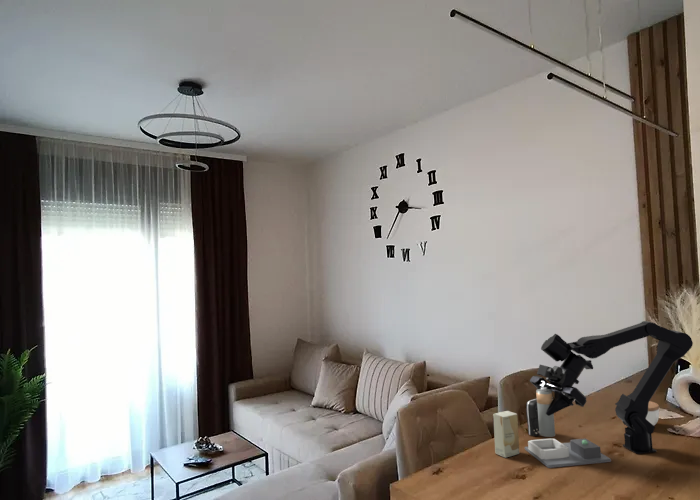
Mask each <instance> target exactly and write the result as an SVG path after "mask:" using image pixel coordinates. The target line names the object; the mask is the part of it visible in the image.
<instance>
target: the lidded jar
mask: <svg viewBox="0 0 700 500" xmlns="http://www.w3.org/2000/svg"><path fill="white" fill-rule="evenodd" d="M659 409H660V405H659V404H658V403H657V402H654V401H651V400H650V401H649V405H648V414H647V416H646V420H647V421H649V422H650V423H651V424H652V425H653V426H654V427H655V425H656V424H657V423H658V421H659V419H660V418H659V417H660V410H659Z"/></svg>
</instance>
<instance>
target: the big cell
mask: <svg viewBox="0 0 700 500" xmlns="http://www.w3.org/2000/svg"><path fill="white" fill-rule="evenodd" d="M535 393H536V399H537V407H538V421H539V434H540V436H542V437H545V438H546V437H547V438H548V437H549V438H552V437H555V436H556V428H555V413H554V414H552V415H550V416H548V415H547V414H546V412H547V410H548V408H549V406H550V404H551V403H552V401H553V399H554V398H553V397H554V396H553V391H552V390H549V389H547V388H546V387H541V389H537V388H536V390H535Z"/></svg>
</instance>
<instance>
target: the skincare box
mask: <svg viewBox="0 0 700 500" xmlns="http://www.w3.org/2000/svg"><path fill="white" fill-rule="evenodd" d="M492 415H493V416H492V417H493V433H494V436H493V437H494V452H495V453H494V454H496V455H498V456H500V457H502V458H504V459H505V458H508V457H510V458H511V457H512V456H513V457H514V456H516V455H519V454H520V441H519V440H520V438H519V437H520V436H519V423H518V421H519V419H518V418H519V417H518V413H516V412H512V411H510V410H505V411H499V412H496V413H493V414H492Z"/></svg>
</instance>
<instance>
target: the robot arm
mask: <svg viewBox="0 0 700 500" xmlns="http://www.w3.org/2000/svg"><path fill="white" fill-rule="evenodd" d="M648 337H652V338H654V339H655V340H657V341H658V342H657V348H656V354H655V356H654V358H653V359H652V361H651V362H650V364H649V365H648V367H647V368H646V370H645V372H644V373H643V375H642V377H641V378H640V380H639V382H638V383H637V385H636V386H635V388H634V389H633V391H632V392H631V393H629V394H628V395H626V394H624V393H622V394H621V395H620V397H619V400H617V402H615V403H614V404H615V409H614V411H615V414H616V416H617V418H619V419H620V420H621V421H622V423H623V425H624V426H626V427H624V434H623V436H624V437H623V438H624V444H622V447H623V448H624V449H626V450H629V451H630V452H633V453H635V455H636V454H637V455H640V454H650V453H651V454H652V453H657V451H658V450H657V449H656V448H653V437H652V434H653V433H654V432H655V428H656V427H655V425H654V426H653V425H652V424H651V423H650V422H649V421H647V420H646V416H647V414H648V405H649V401H651V399H652V398H653V396H654V395H655V393H656V391H657V390H658V388H659V386H660V385H661V383H662V382H663V380H664V379H665V377H666V375H667V374H668V372H669V371H670V370H671V368H672V366H673V364H674V363H675V362H676V361H678V360H680V359H682V358H684V357H685V355H686V354H688V352H689V351H690V350H691V349H692V347H693V344H694V342H693V340H692V338H691V336H690V335H689V334H688V333H685V332H682V331H677V330H675V329H674V330H673V329H668V328H665V327H664V326H661V325H658V324H656V323H655V322H652V321H648V320H644V321H641V322H639V323H637V324H634V325H633V324H632V325H630V326H627V327H624V328H621V329H618V330H615V331H612V332H609V333H606V334H598V335H597V334H596V335H587V336H583V337H580V338H578V339H577V341H572V342H567V341H565V340H564V339H563V338H562V337H561V336H560V335H559V334H558V333H554V334H553V335H552V336H550V337H549V338H548V339H546V340H545V341H544V342H543V344H542V345H541V348H540V349H541V351H543V352H544V353H545V354H546V355H548V356H549V357H550V358H551V359H552V360H553V361H555V362H561V363H562V364H561V365H559V366H557V365H554V366H553V367H550V366H547V365H544V364H539V366H538V369H537V373H536V374H537V375H532V377H531V378H530V379H529V382H530V384H532V385H533V386H534V387H535V388H536V390H537V389H541V387H546V388H547V389H549V390H552V393H554V396H553V401H552V403H551V404H550V406H549V408H548V410H547V412H546V414H547V415H548V416H550V415H552V414H554V415H555V414H556V413H557V412H559V411H562V410H563V409H566V408H568V407H571V406H572V407H573V406H574V405H577V406H580V407H582V408H584V406H585V405H586V403H587V397H586V396H585V395H584V393H583V392H582V391H580V390H579V389H578V388H577V387H575V386H574V384H575V385H578V384H579V383H580V381H579V379H578V378H579V377H580V375H581V374H582V372H583V371H584V370H593V369H594V366H593V365H594V364H593V363H592V360H591V359H597V358H599V357H601V356H603V355H604V354H606V353H608V351H610V350H611V349H613V348H616V347H619V346H622V345H626V344H629V343H631V342H634V341H637V340H641V339H643V338H648ZM583 356H585V357H586V358H588V360H587V359H586V358H584V357H583ZM589 359H590V360H589ZM542 376H543V377H542ZM544 377H545V378H544ZM573 402H574V403H575V404H574V403H573ZM535 409H536V411H538V407H537V404H536V408H535Z"/></svg>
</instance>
